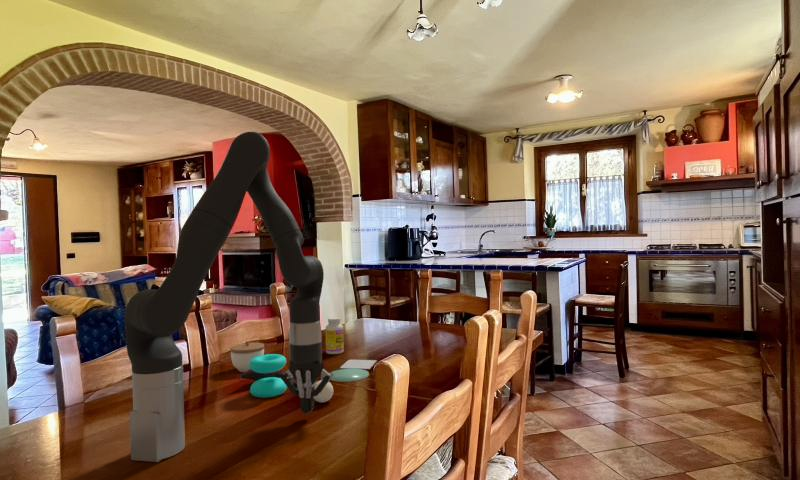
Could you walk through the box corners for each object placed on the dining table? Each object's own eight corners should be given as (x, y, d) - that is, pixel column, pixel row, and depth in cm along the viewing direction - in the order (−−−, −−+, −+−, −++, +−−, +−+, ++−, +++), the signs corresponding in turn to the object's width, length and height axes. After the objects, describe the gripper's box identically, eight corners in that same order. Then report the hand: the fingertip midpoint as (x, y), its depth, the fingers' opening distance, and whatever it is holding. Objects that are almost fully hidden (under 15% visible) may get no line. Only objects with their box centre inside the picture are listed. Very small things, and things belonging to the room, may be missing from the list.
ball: (336, 397, 124) (330, 406, 118) (316, 397, 125) (309, 405, 119) (335, 377, 124) (329, 384, 118) (315, 377, 124) (308, 384, 119)
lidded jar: (236, 376, 146) (235, 346, 146) (226, 368, 155) (226, 341, 155) (269, 369, 152) (268, 341, 152) (258, 363, 161) (257, 336, 161)
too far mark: (369, 369, 150) (369, 368, 150) (339, 368, 152) (339, 367, 152) (376, 360, 160) (376, 360, 160) (348, 360, 161) (348, 359, 161)
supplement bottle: (336, 355, 168) (335, 320, 168) (322, 353, 172) (321, 319, 172) (347, 351, 174) (346, 317, 174) (333, 349, 177) (332, 316, 177)
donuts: (241, 359, 128) (270, 351, 136) (242, 395, 128) (271, 385, 136) (265, 364, 122) (293, 355, 131) (266, 401, 123) (294, 390, 131)
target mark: (362, 382, 136) (362, 382, 136) (320, 381, 139) (320, 380, 139) (373, 369, 149) (373, 369, 149) (335, 368, 151) (335, 368, 151)
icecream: (248, 370, 130) (292, 363, 141) (235, 359, 134) (278, 353, 146) (243, 393, 131) (287, 384, 142) (230, 382, 135) (274, 374, 147)
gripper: (272, 343, 108) (274, 417, 108) (326, 344, 105) (328, 420, 105) (286, 336, 115) (288, 405, 115) (337, 336, 113) (339, 407, 113)
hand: (307, 412), depth 110 cm, fingers closed
